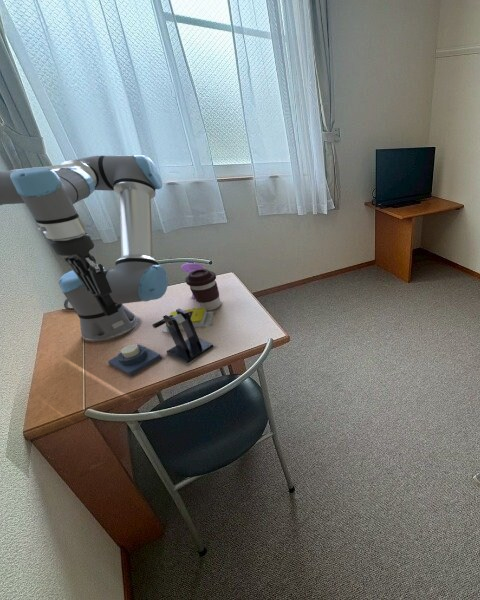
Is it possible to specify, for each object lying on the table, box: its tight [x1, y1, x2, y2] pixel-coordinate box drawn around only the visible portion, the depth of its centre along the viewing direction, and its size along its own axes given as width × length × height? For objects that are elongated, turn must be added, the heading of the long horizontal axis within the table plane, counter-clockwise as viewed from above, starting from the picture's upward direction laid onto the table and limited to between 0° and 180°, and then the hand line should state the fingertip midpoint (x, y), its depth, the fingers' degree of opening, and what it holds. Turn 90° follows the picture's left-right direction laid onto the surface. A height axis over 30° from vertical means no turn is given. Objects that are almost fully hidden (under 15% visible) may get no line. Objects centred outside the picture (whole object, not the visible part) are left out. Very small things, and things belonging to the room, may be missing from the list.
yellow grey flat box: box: [162, 307, 214, 333], centre depth 116 cm, size 9×4×15 cm
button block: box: [107, 344, 163, 377], centre depth 98 cm, size 11×9×4 cm
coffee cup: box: [184, 268, 221, 311], centre depth 122 cm, size 10×10×15 cm
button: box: [120, 344, 140, 358], centre depth 96 cm, size 4×4×2 cm
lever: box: [151, 314, 185, 329], centre depth 99 cm, size 12×6×2 cm, turn 64°
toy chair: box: [181, 262, 205, 299], centre depth 131 cm, size 8×9×15 cm
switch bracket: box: [162, 308, 214, 364], centre depth 100 cm, size 10×9×15 cm
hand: (112, 313), depth 92 cm, fingers closed
